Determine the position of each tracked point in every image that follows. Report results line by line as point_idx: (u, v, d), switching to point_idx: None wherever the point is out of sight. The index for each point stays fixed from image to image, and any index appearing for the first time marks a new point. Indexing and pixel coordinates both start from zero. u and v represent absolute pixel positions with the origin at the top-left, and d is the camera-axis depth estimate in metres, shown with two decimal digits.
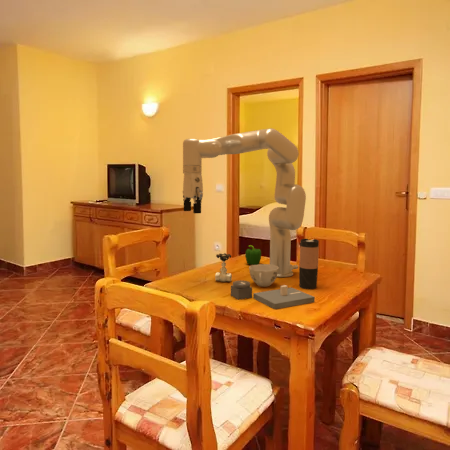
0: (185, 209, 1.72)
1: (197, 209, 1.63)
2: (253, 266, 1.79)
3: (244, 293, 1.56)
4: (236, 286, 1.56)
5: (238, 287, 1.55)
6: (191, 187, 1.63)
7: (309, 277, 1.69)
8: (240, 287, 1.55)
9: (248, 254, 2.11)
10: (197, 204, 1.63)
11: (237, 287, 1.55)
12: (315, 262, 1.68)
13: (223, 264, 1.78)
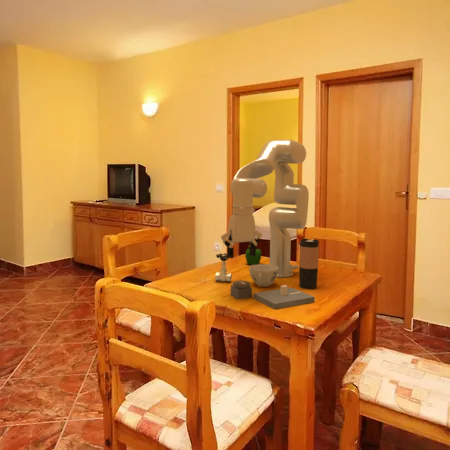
0: None
1: None
2: (253, 266, 1.79)
3: (244, 293, 1.56)
4: (236, 286, 1.56)
5: (238, 287, 1.55)
6: (254, 230, 1.55)
7: (309, 277, 1.69)
8: (240, 287, 1.55)
9: (248, 254, 2.11)
10: None
11: (237, 287, 1.55)
12: (315, 262, 1.68)
13: (223, 264, 1.78)
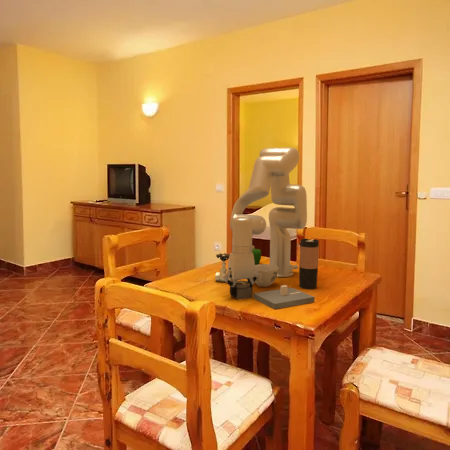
0: None
1: None
2: None
3: (244, 293, 1.56)
4: (236, 286, 1.56)
5: (238, 287, 1.55)
6: (253, 267, 1.57)
7: (309, 277, 1.69)
8: (240, 287, 1.55)
9: None
10: None
11: (237, 287, 1.55)
12: (315, 262, 1.68)
13: (223, 264, 1.78)
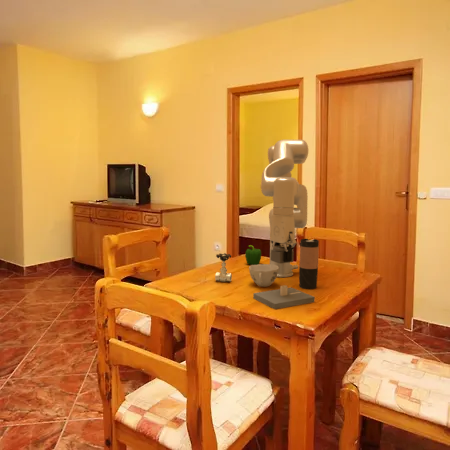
0: None
1: None
2: (253, 266, 1.79)
3: None
4: None
5: None
6: None
7: (309, 277, 1.69)
8: None
9: (248, 254, 2.11)
10: None
11: None
12: (315, 262, 1.68)
13: (223, 264, 1.78)
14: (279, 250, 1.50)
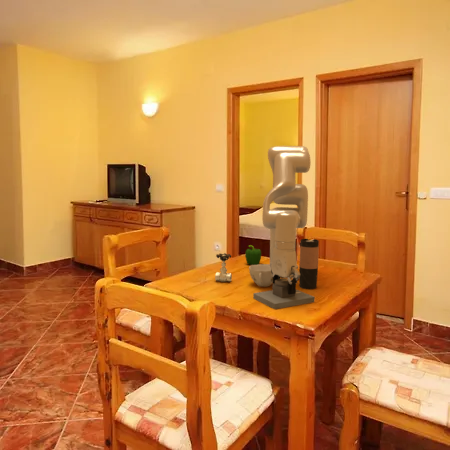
0: None
1: None
2: (253, 266, 1.79)
3: None
4: None
5: None
6: None
7: (309, 277, 1.69)
8: None
9: (248, 254, 2.11)
10: None
11: None
12: (315, 262, 1.68)
13: (223, 264, 1.78)
14: (281, 285, 1.51)
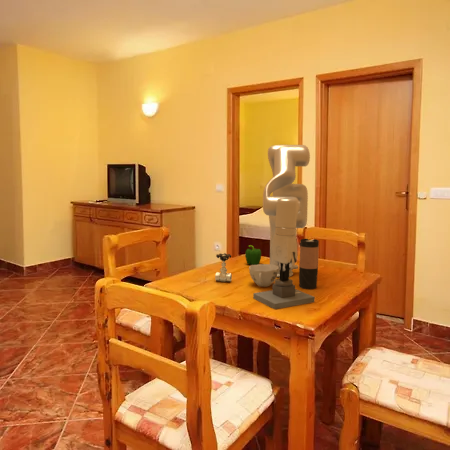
0: None
1: None
2: (253, 266, 1.79)
3: None
4: (291, 284, 1.52)
5: (292, 284, 1.53)
6: None
7: (309, 277, 1.69)
8: (292, 283, 1.54)
9: (248, 254, 2.11)
10: None
11: (292, 284, 1.52)
12: (315, 262, 1.68)
13: (223, 264, 1.78)
14: (281, 285, 1.51)
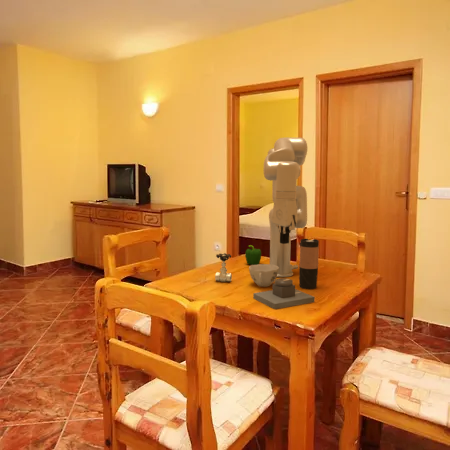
0: None
1: None
2: (253, 266, 1.79)
3: None
4: (291, 284, 1.52)
5: (292, 284, 1.53)
6: None
7: (309, 277, 1.69)
8: (292, 283, 1.54)
9: (248, 254, 2.11)
10: None
11: (292, 284, 1.52)
12: (315, 262, 1.68)
13: (223, 264, 1.78)
14: (281, 285, 1.51)
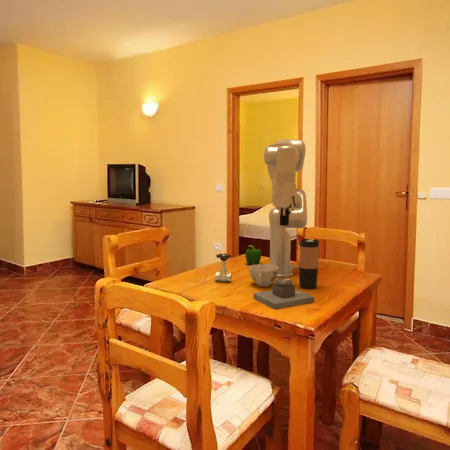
0: None
1: None
2: (253, 266, 1.79)
3: None
4: (291, 284, 1.52)
5: (292, 284, 1.53)
6: None
7: (309, 277, 1.69)
8: (292, 283, 1.54)
9: (248, 254, 2.11)
10: None
11: (292, 284, 1.52)
12: (315, 262, 1.68)
13: (223, 264, 1.78)
14: (281, 285, 1.51)
